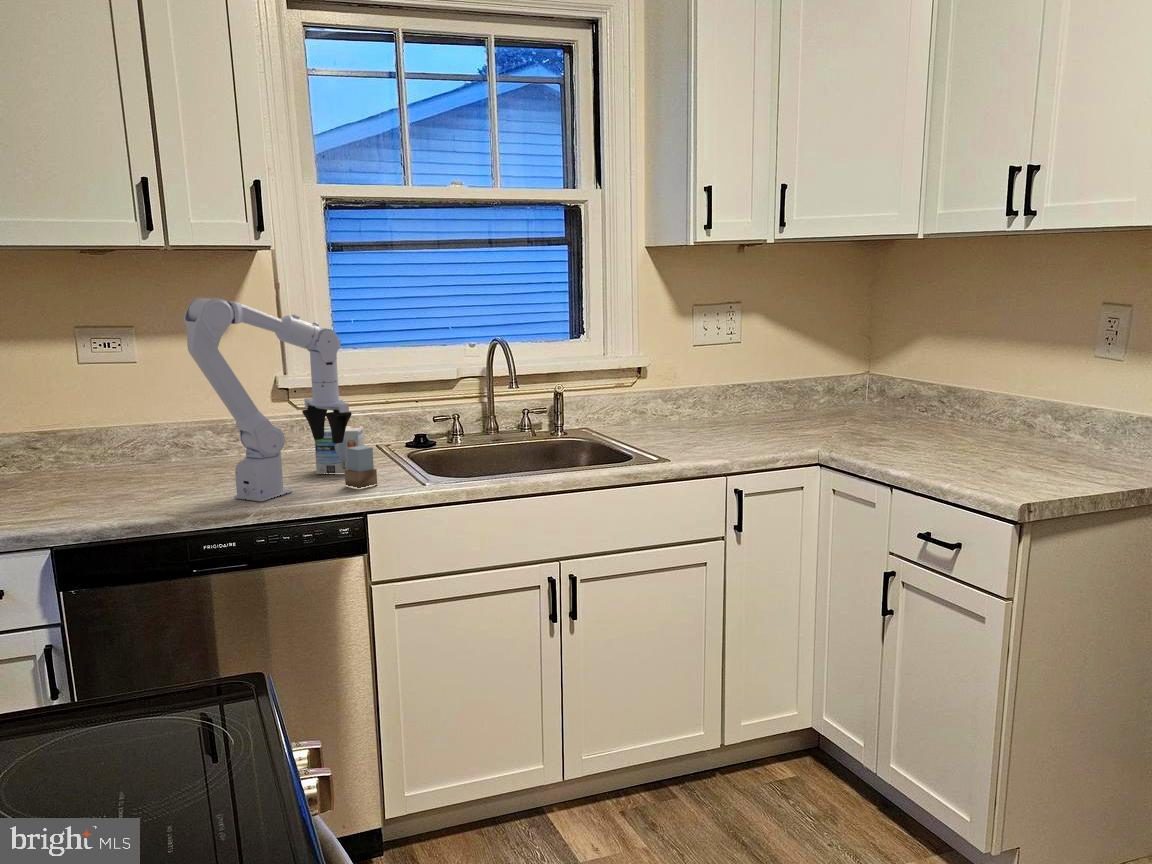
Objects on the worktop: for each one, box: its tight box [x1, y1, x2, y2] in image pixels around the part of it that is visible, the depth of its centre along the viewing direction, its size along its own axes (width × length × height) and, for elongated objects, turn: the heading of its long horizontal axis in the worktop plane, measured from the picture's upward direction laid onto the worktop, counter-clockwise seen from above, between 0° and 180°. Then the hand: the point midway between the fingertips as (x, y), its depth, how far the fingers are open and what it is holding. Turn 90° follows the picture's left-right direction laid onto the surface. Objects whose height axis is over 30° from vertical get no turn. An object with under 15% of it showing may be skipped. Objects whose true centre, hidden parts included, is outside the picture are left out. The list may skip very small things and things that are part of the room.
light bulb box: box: [314, 425, 365, 475], centre depth 216 cm, size 11×7×11 cm, turn 92°
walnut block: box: [344, 468, 378, 488], centre depth 201 cm, size 5×5×4 cm
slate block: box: [347, 445, 375, 472], centre depth 201 cm, size 4×4×5 cm
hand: (328, 441), depth 203 cm, fingers open, 7 cm apart
